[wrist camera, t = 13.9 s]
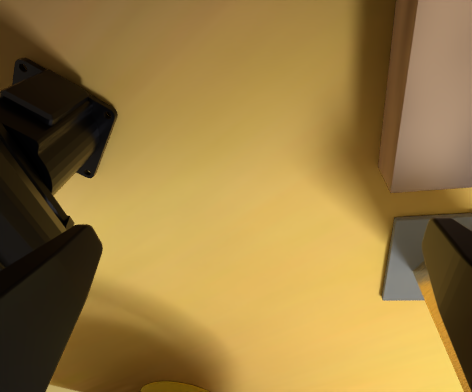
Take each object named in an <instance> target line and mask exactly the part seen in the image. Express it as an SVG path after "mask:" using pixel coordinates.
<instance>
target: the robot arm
mask: <svg viewBox="0 0 472 392" xmlns="http://www.w3.org/2000/svg"><path fill="white" fill-rule="evenodd" d="M23 64H24V65H25V66H26V67H27V70H26V69H25V68H24V66H23ZM106 112H109V113H110V114H111V117H110V116H108V115H107V113H106ZM117 115H118V114H117V111H116V110H115V109H114V108H113V107H111V106H110V105H108V104H106V103H104V102H103V101H101V100H99V99H97V98H96V97H94V96H92V95H90V94H89V93H88V92H87V91H86V90H84V89H82V88H81V87H79V86H77V85H75V84H74V83H72V82H70V81H68V80H67V79H65V78H63V77H61V76H60V75H58V74H56V73H54V72H53V71H51V70H47V69H45V68H43V67H41V66H40V65H38V64H36V63H34V62H33V61H31V60H29V59H27V58H21V59H18V60H17V61H16V62H15V67H14V75H13V84H12V86H10V87H8V88H6V89H4V90H1V91H0V392H46V389H47V387H48V385H49V383H50V380H51V378H52V376H53V374H54V371H55V369H56V367H57V365H58V362H59V360H60V358H61V356H62V353H63V351H64V349H65V347H66V344H67V342H68V340H69V338H70V335H71V333H72V331H73V329H74V326H75V324H76V322H77V320H78V317H79V315H80V313H81V311H82V308H83V306H84V304H85V301H86V299H87V296H88V293H89V291H90V288H91V284H92V281H93V278H94V275H95V272H96V269H97V266H98V263H99V260H100V257H101V254H102V250H103V247H102V243H101V241H100V240H99V238H98V236H97V234H96V233H95V231H94V229H93V227H92V226H90V225H87V224H86V225H75V226H73V225H74V222H73V220H72V219H71V217H70V216H67V215H66V213H65V212H64V211H63V209H62V208H61V206H60V205H59V203H58V202H57V201H56V199H55V198H54V196H53V195H54V194H55V193H56V192H57V191H58V190H59V189H60V188H61V187H62V186H63V185H64V184H65V183H66V182H67V181H68V180H69V179H70V178H71V177H72V176H73V175H74V174H75V173H76V172H77V173H79V174H81V175H83V176H85V177H87V178H92V177H93V176H94V175H95V174H96V172H97V169H98V167H99V164H100V161H101V159H102V156H103V153H104V151H105V148H106V145H107V143H108V140H109V137H110V135H111V132H112V130H113V127H114V124H115V122H116V119H117ZM87 170H89V171H90V172H88V171H87ZM422 252H423V256H424V260H425V263H426V267H427V271H428V274H429V278H430V282H431V285H432V289H433V293H434V297H435V300H436V304H437V307H438V310H439V313H440V316H441V318H442V321H443V323H444V326H445V328H446V331H447V333H448V336H449V338H450V341H451V343H452V346H453V348H454V351H455V353H456V355H457V358H458V360H459V363H460V365H461V368H462V370H463V373H464V375H465V378H466V380H467V383H468V385H469V388H470V390H471V392H472V231H471V230H470V229H468V228H467V227H465V226H463V225H462V224H460V223H459V222H457V221H456V220H454V219H452V218H449V217H437V218H431V219H430V220H429V222H428V224H427V228H426V231H425V234H424V238H423V241H422Z"/></svg>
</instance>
